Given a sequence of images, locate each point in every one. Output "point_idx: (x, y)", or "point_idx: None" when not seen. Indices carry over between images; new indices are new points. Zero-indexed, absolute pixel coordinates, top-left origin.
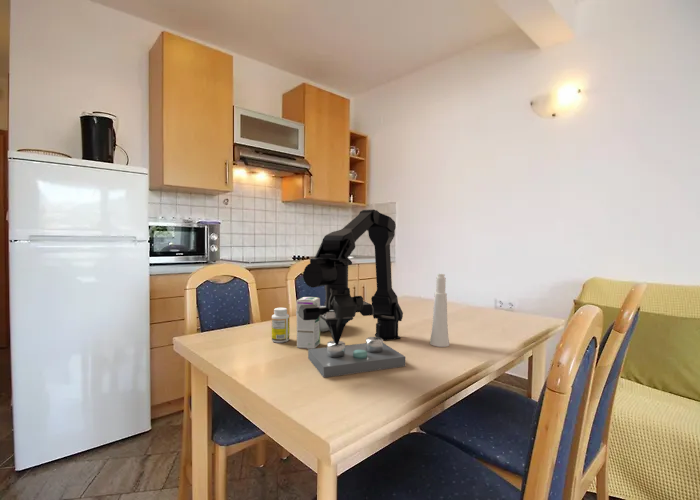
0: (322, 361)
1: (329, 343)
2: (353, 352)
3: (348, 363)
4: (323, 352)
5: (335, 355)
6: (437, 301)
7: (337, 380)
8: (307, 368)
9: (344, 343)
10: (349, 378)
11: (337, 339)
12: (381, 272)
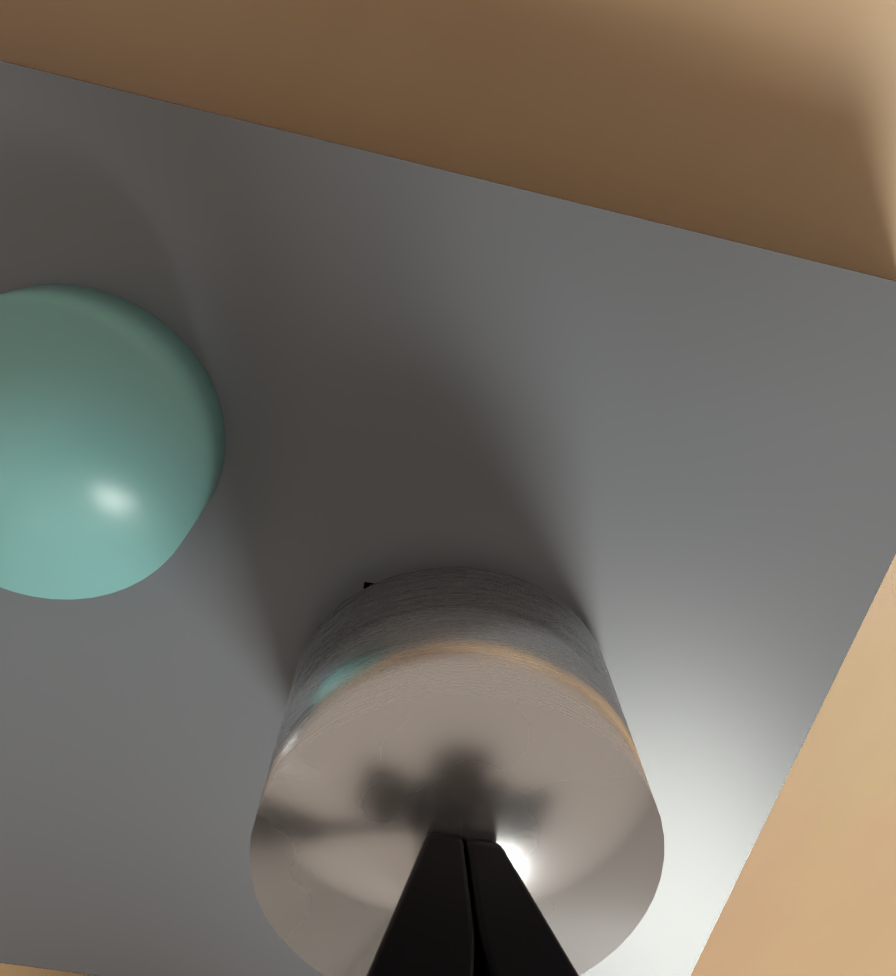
0: (834, 557)
1: (590, 914)
2: (197, 501)
3: (510, 211)
4: None
5: (554, 606)
6: None
7: (809, 57)
8: (838, 681)
9: (290, 778)
10: (596, 11)
11: (466, 912)
12: None
